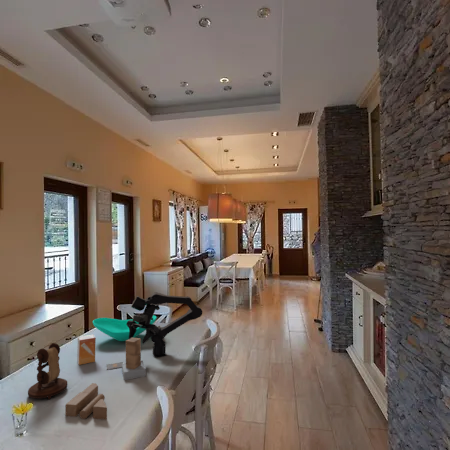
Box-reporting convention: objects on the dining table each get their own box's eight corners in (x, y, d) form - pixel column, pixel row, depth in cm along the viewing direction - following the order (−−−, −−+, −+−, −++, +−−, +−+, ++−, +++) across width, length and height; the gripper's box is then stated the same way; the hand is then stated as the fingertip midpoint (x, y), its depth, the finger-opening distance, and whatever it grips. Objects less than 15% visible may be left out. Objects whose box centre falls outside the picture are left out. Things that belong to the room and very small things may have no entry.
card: (122, 362, 160) (122, 361, 160) (123, 367, 154) (123, 366, 154) (106, 365, 157) (106, 364, 157) (106, 369, 151) (106, 369, 151)
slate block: (142, 368, 154) (142, 360, 154) (145, 376, 145) (145, 368, 145) (122, 371, 150) (122, 363, 150) (123, 380, 141) (123, 372, 141)
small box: (78, 365, 156) (79, 340, 157) (77, 361, 162) (77, 336, 162) (95, 361, 161) (95, 337, 161) (93, 357, 166) (93, 334, 167)
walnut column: (132, 363, 151) (132, 337, 151) (140, 365, 149) (140, 338, 149) (125, 367, 146) (125, 340, 146) (134, 369, 144) (134, 341, 145)
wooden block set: (63, 403, 113) (91, 379, 131) (63, 418, 113) (91, 393, 130) (105, 406, 110) (128, 382, 128) (105, 422, 110) (128, 396, 128)
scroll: (50, 403, 122) (51, 353, 122) (18, 399, 124) (19, 351, 125) (74, 385, 136) (75, 340, 137) (46, 382, 139) (47, 338, 139)
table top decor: (157, 330, 212) (157, 311, 213) (156, 345, 185) (156, 323, 186) (97, 334, 204) (97, 314, 205) (87, 349, 177) (87, 327, 178)
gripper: (127, 306, 166) (113, 333, 158) (154, 310, 158) (141, 339, 150) (137, 314, 174) (125, 341, 165) (164, 318, 166) (153, 347, 158)
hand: (135, 342), depth 159 cm, fingers open, 9 cm apart
